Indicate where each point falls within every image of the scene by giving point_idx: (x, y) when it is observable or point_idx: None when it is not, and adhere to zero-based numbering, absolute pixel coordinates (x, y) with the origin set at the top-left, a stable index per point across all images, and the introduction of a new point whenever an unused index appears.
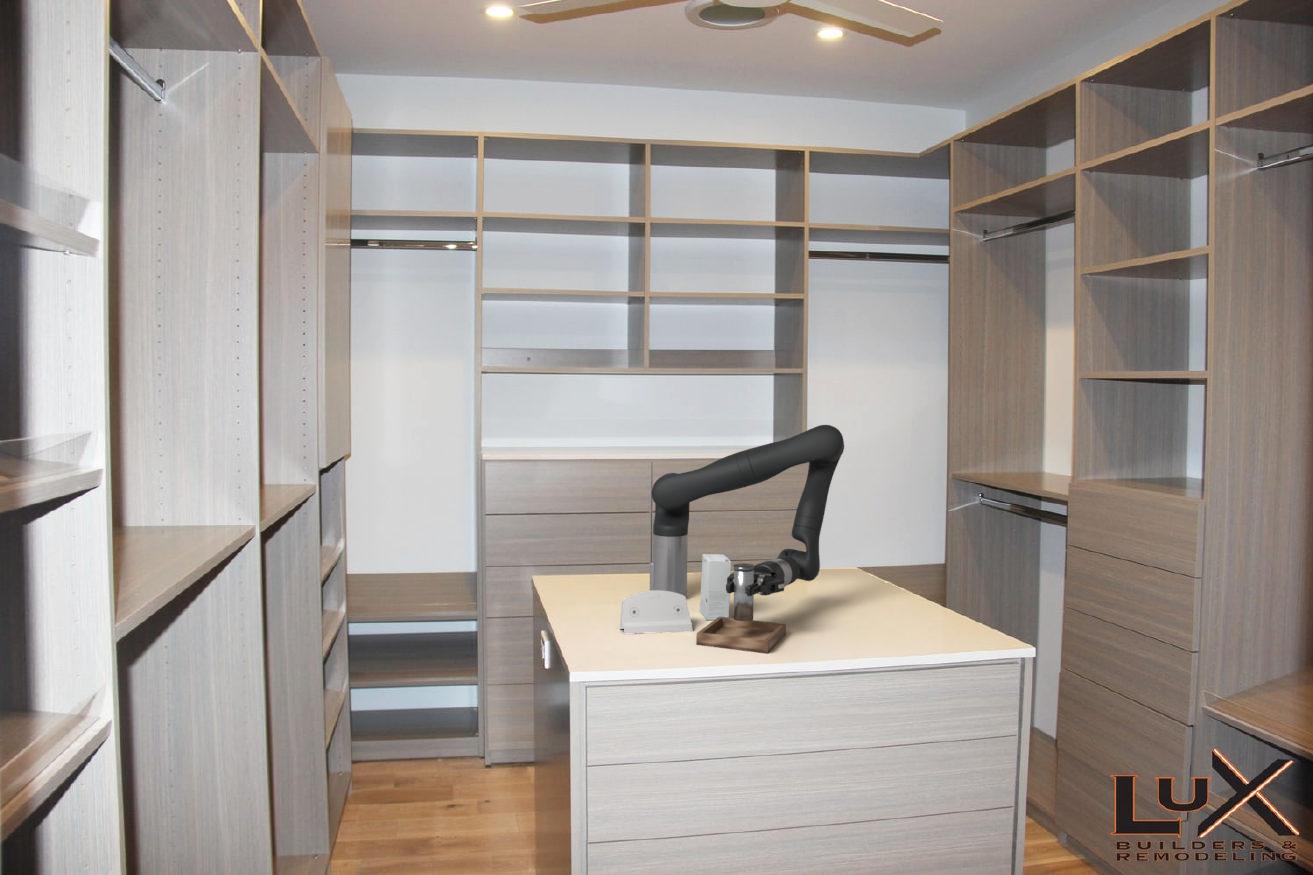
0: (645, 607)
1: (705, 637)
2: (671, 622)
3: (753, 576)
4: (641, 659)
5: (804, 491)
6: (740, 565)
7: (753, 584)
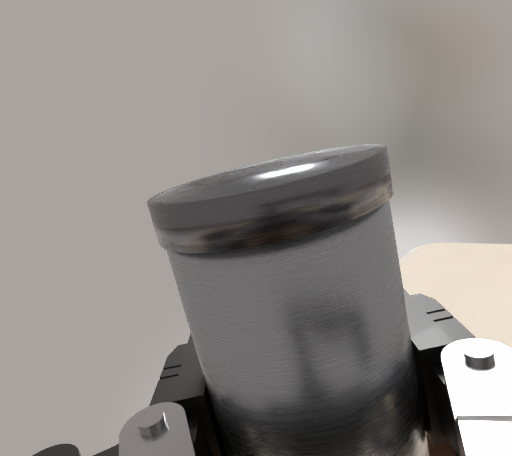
0: None
1: None
2: None
3: (186, 314)
4: None
5: None
6: (296, 163)
7: (191, 364)
